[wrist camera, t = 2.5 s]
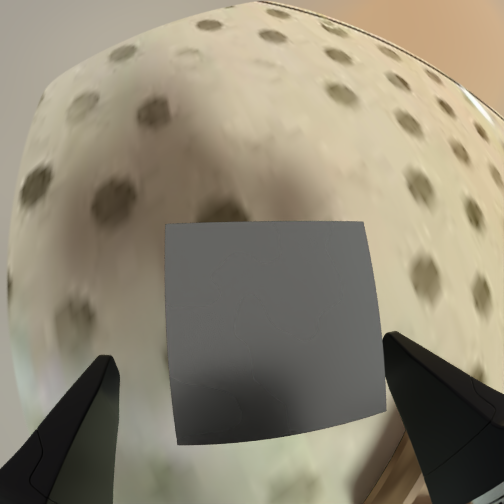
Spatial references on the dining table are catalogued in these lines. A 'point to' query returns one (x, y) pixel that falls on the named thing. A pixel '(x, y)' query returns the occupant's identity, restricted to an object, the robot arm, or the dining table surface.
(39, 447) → the robot arm
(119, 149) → the dining table surface
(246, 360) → the bracket post
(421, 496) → the well
